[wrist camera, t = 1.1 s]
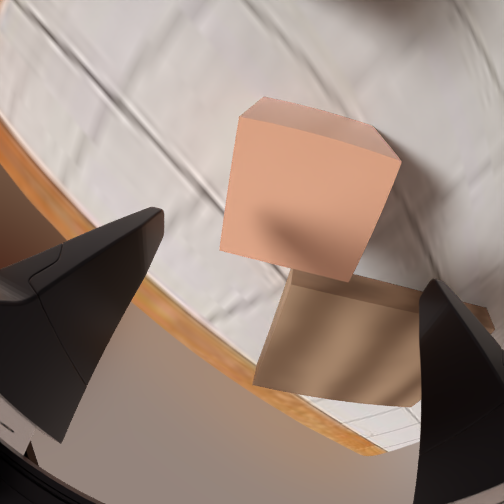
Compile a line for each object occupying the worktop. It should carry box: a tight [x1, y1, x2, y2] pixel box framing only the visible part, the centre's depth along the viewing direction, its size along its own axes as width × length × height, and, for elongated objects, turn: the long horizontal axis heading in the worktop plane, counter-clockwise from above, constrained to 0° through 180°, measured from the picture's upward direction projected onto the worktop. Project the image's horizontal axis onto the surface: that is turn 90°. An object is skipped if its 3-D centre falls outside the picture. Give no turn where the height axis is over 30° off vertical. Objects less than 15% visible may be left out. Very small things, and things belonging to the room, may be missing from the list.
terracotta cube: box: [220, 97, 402, 283], centre depth 14 cm, size 6×6×6 cm
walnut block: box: [253, 268, 495, 407], centre depth 24 cm, size 18×14×3 cm
